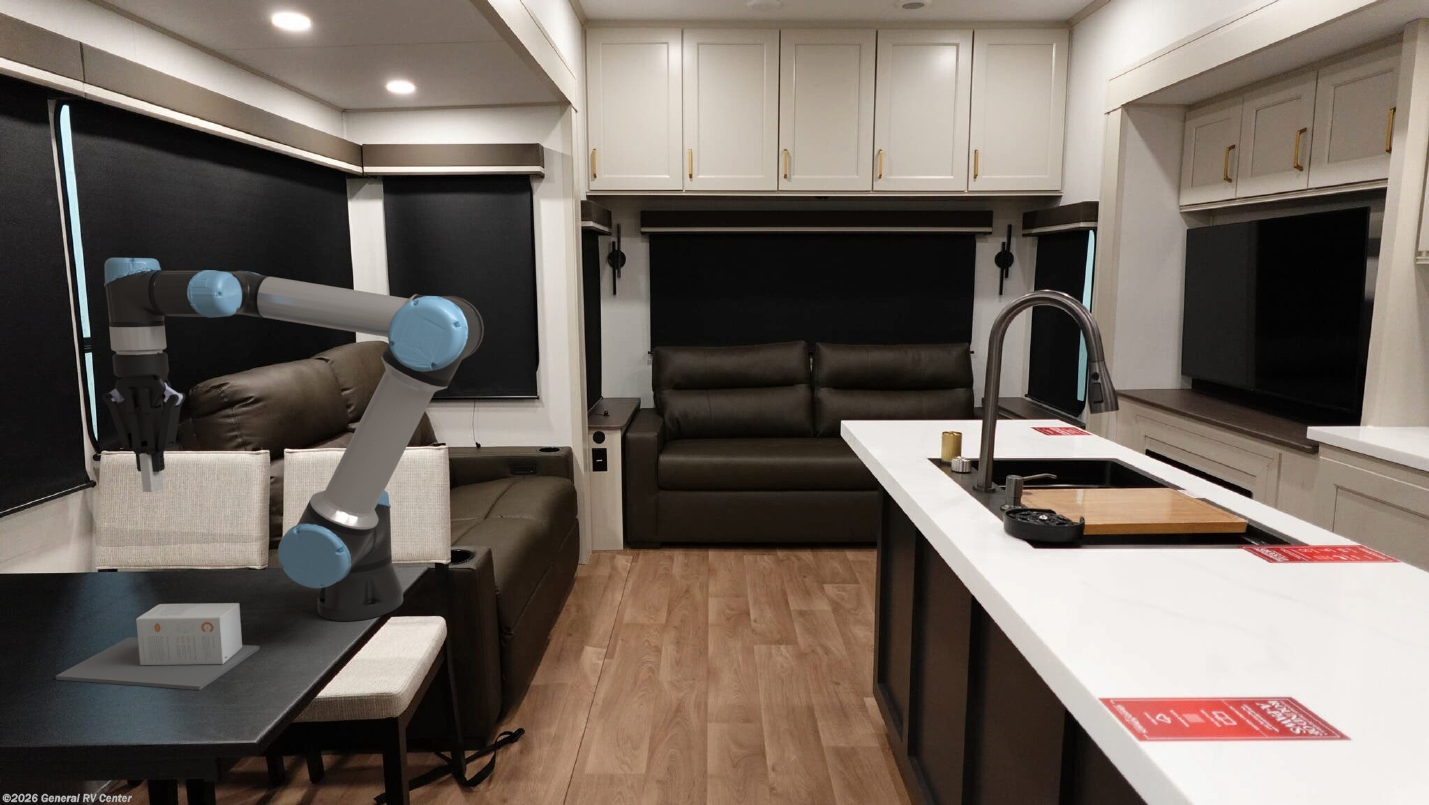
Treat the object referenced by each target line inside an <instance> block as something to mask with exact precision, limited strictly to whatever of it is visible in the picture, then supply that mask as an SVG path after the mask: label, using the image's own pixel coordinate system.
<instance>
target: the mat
mask: <svg viewBox="0 0 1429 805" xmlns="http://www.w3.org/2000/svg"><path fill="white" fill-rule="evenodd" d="M260 649H261V648H260V646H259V645H252V644H251V645H250V644H242V648H241V649H240V650H239V651H238V652H236V653H235V654H234V655H233V656H232V657H231V658H230V659H229V660H227V661H226V662H225V663H224V664H196V665H140V656H139V645H138V637H133V636H132V637H131V636H128V637H126V638H125V639H123V640H121V641H119V642H117V643H115V644H113V645H111V646H109V647H108V648H106V649H104V650H102V651H100V652H98V653H97V654H94V655H93V656H91V657H89V658H87V659H86V660H83V661H81V662H79V663H78V664H75V665H74V666H71V667H70V668H68V669H65V670H64V671H62V672H60V673H58V674H57V675H55V680H57V681H58V680H59V681H72V682H83V683H96V684H98V683H99V684H109V685H110V684H112V685H126V686H136V687H137V686H139V687H140V686H141V687H150V688H151V687H153V688H166V689H179V690H193V691H200V690H201V691H202V689H204V688H205V687H207V686H208V685H209V684H211V683H213V682H214V681H216V680H217V679H218V678H220V677H221V676H223V675H224V674H225V673H227V672H228V671H230V670H231V669H233V668H235V667H236V666H238V665H239V664H240V663H242V662H244V661H245V660H246V659H248V658H249V657H251V656H252V655H254V654H255V653H257V652H259V650H260Z"/></svg>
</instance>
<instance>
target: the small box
mask: <svg viewBox="0 0 1429 805" xmlns="http://www.w3.org/2000/svg"><path fill="white" fill-rule="evenodd" d="M135 619H136V620H135V622H136V631H137V638H138V645H139V656H140V665H196V664H224V663H225V662H226V661H227V660H229V659H230V658H231V657H232V656H233V655H234V654H235V653H236V652H238V651H239V650H240V649H241V648H242V645H243V641H242V639H243V638H242V624H241V608H240V602H235V603H234V602H229V603H228V602H226V603H225V602H223V603H221V602H218V603H215V602H214V603H212V602H211V603H208V602H207V603H160V604H157V605H155V606H154V607H152V608H151V609H149V610H147V611H146V612H144V613H143V614H141V615H140V616H138V617H137V618H135Z"/></svg>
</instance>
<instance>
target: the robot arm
mask: <svg viewBox="0 0 1429 805" xmlns="http://www.w3.org/2000/svg"><path fill="white" fill-rule="evenodd" d="M103 286H104V288H105V289H104V290H105V296H106V304H107V310H108V318H109V321H108V322H109V327H108V328H109V338H110V340H109V341H110V349H111V351H114V352H116V353H114V354H113V355H112V357H111V358H112V367H113V374H114V375H115V377H117V380H116V382H115V385H114V386H115V388H114V389H112V390H111V391H110V392H108V393H103V394H102V395H101V399H102V400H103V402H104V403H105V404H106V405H107V407H108V408H109V412H110V415H111V418H112V421H113V424H114V427H115V429H116V432H117V436H118V438H119V441H120V444H121V447H122V449H124V450H130V451H132V452H133V453H134V455H135V463H136V470H137V471H138V472H140V475H141V484H142V492H144V493H153V492H156V491H158V490H162V489H163V488H164V487H163V486H164V484H163V483H164V482H163V474H162V473H163V472H162V471H164V470H165V467H166V465H165V454H164V453H165V451H166V450H168V449H172V448H174V447H176V441H177V436H178V435H177V434H178V427H179V422H180V415H181V414H180V413H181V407H182V406H183V404H184V402H185V399H186V397H187V395H186V394H185V393H184V392H177V391H176V390H174V389H172V388H171V387H172V385H171V383H170V381H169V379H168V374H169V372H170V368H169V367H170V366H169V359H168V358H169V357H168V354H167V353H166V352H164V351H163V350H166V349H167V346H168V345H167V338H166V327H165V326H166V324H165V317H192V318H193V317H195V318H196V317H204V318H205V317H206V318H209V319H210V318H221V317H231V316H233V315H244V316H245V315H246V316H250V317H257V318H258V317H259V318H264V319H265V318H266V319H272V320H279V321H285V322H292V323H297V324H305V325H310V326H316V327H322V328H328V329H333V330H334V329H335V330H341V331H347V332H354V333H360V334H366V335H372V336H376V337H377V336H378V337H384V338H387V340H388V341H387V342H388V343H387V345H386V347H385V349H384V352H382V356H381V357H380V358H381V361H382V363H383V365H384V368H385V371H384V373H383V375H382V377H381V379H380V381H379V383H378V385H377V387H376V389H375V391H374V393H373V394H372V397H371V399H370V401H369V403H368V405H367V407H366V409H365V411H364V413H363V414H362V416H361V417H360V418H361V419H360V420H359V423H357V424H358V425H357V426H356V428H355V430H354V433H353V434H352V437H351V439H350V440H349V442H348V444H347V446H346V448H345V450H344V452H343V453H342V456H341V458H340V460H339V463H338V464H337V466H336V468H335V470H334V472H333V475H332V476H331V478H330V480H329V482H328V484H327V486H326V487H325V489H324V490H322V491H319V492H316V493H314V494H312V496H311V497H310V499H309V501H308V502H307V505H306V506H305V508H304V511H303V512H302V514H301V517H300V519H299V520H298V522H297V523H296V525H294V526H292V527H291V528H290V529H288V530H287V532H286V533H284V535H283V536H282V538H280V541H279V544H278V548H277V556H278V562H279V564H281V567H282V568H283V572H284V573H285V574H286V576H287V577H289V579H290V580H292V581H293V582H295V583H296V584H298V585H300V586H304V587H307V588H310V589H320V590H319V594H318V596H317V613H318V614H319V616H321V618H324V619H327V620H332V621H341V622H351V621H353V622H355V621H361V620H363V621H364V620H368V619H373V618H377V617H381V616H383V615H387V614H389V613H391V612H393V611H395V610H396V609H398V608H399V607H400V606H401V605H402V604H403V602H404V591H403V587H402V584H401V582H400V579H399V577H398V575H397V572H396V569H395V567H394V565H393V559H392V558H393V556H392V528H391V527H392V525H391V523H392V522H391V507H392V506H391V504H390V494H389V493H388V491H387V490H386V487H387V485H388V484H389V483H390V480H391V478H392V476H393V474H394V472H395V471H396V468H397V466H398V464H399V462H400V460H401V458H402V457H403V454H404V453H405V452H406V448H407V447H408V445H409V443H410V441H411V439H412V437H413V435H414V433H415V431H416V429H417V427H418V425H419V424H420V422H421V420H422V417H423V416H424V414H425V412H426V410H427V408H428V406H429V404H430V402H431V400H432V398H433V396H434V394H435V393H436V392H439V391H442V390H444V389H448V387H449V385H450V384H451V381H452V379H453V377H454V375H455V374H456V371H457V370H458V368H459V365H460V364H461V363H462V361H463V360H464V359H466V358H468V357H470V356H472V354H474V353H475V352H476V351H477V350H478V348H479V347H480V345H481V343H482V341H483V337H484V329H485V326H484V322H483V317H482V316H481V314H480V312H479V311H478V309H477V308H476V307H475V306H474V304H472V303H471V302H469V301H468V300H466V299H464V298H461V297H458V296H455V295H442V296H436V295H434V296H433V295H423V294H417V293H415V294H413V295H412V296H411V297H409V298H405V297H401V296H400V297H399V296H395V295H394V296H393V295H387V294H381V293H375V292H369V291H363V290H356V289H350V288H344V287H337V286H330V285H326V284H318V283H312V282H306V281H300V280H295V279H294V280H293V279H287V278H280V277H275V276H267V275H263V274H259V273H256V272H254V271H253V272H252V271H247V270H246V271H245V270H237V271H223V270H222V271H220V270H209V269H207V270H204V269H203V270H164V269H162V268H161V265H160V262H159V261H158V260H157V259H155V258H153V257H152V258H151V257H149V258H147V257H144V258H143V257H110V258H107V259H106V261H105V262H104V283H103Z"/></svg>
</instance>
